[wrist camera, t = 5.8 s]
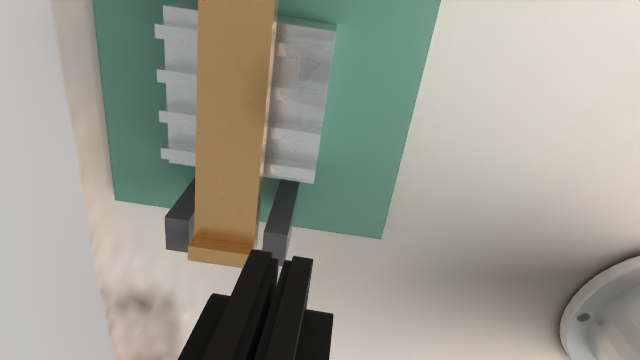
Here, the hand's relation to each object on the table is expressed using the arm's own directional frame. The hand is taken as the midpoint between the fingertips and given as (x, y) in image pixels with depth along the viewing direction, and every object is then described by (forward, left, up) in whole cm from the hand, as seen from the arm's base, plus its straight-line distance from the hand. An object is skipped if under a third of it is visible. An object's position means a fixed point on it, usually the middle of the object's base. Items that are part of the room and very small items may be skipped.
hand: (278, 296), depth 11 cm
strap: (+4, -2, -9) cm, 10 cm away
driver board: (+4, -2, -15) cm, 16 cm away
